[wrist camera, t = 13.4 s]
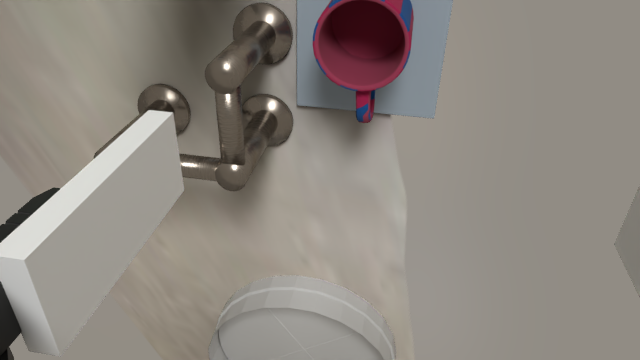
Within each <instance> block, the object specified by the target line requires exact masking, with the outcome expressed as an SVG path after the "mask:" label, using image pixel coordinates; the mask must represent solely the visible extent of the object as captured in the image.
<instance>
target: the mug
mask: <svg viewBox="0 0 640 360" xmlns="http://www.w3.org/2000/svg"><path fill="white" fill-rule="evenodd" d="M413 21H414V15H413V8H412V4H411V1H410V0H331V1H330V2H329V4H328V5H327V7H326V8H325V10H324V11H323V12H322V14H321V16H320V17H319V19H318V21H317V23H316V26H315V28H314V33H313V51H314V55H315V58H316V61H317V63H318V65H319V67H320V69H321V70H322V71H323V73H324V74H325V75H326V76H327V77H328V78H329V79H330V80H331V81H332V82H334V83H335V84H337V85H338V86H341V87H343V88H345V89H349V90H352V91H356V117H357V120H358V121H359V122H362V123H368V122H370V121H371V120H372V117H373V112H374V105H375V90H377V89H379V88H382V87H384V86H386V85H388V84H389V83H391V82H392V81H393V80H395V79H396V78H397V77H398V76H399V75H400V73H401V72H402V71H403V69H404V68H405V66H406V64H407V62H408V59H409V56H410V51H411V42H412V32H413Z"/></svg>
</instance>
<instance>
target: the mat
mask: <svg viewBox="0 0 640 360" xmlns="http://www.w3.org/2000/svg"><path fill="white" fill-rule="evenodd" d="M330 1H331V0H297V105H301V106H311V107H321V108H332V109H342V110H352V111H356V91H352V90H349V89H345V88H343V87H341V86H338V85H337V84H335V83H334V82H332V81H331V80H330V79H329V78H328V77H327V76H326V75H325V74H324V73H323V71H322V70H321V69H320V67H319V65H318V63H317V61H316V58H315V55H314V51H313V33H314V28H315V26H316V23H317V21H318V19H319V17H320V16H321V14H322V12H323V11H324V10H325V8H326V7H327V5H328V4H329V2H330ZM410 1H411V4H412V8H413V15H414V21H413V32H412V42H411V51H410V56H409V59H408V62H407V64H406V66H405V68H404V69H403V71H402V72H401V73H400V75H399V76H398V77H397V78H396V79H395V80H393V81H392V82H391V83H389V84H388V85H386V86H384V87H382V88H379V89H377V90H375V105H374V112H373V113H383V114H393V115H403V116H404V115H405V116H413V117H424V118H434V115H435V109H436V103H437V97H438V90H439V84H440V78H441V71H442V65H443V59H444V53H445V46H446V40H447V34H448V27H449V21H450V15H451V9H452V3H453V0H410Z"/></svg>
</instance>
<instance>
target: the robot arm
mask: <svg viewBox="0 0 640 360" xmlns="http://www.w3.org/2000/svg"><path fill="white" fill-rule="evenodd" d="M183 191H184V184H183V177H182V170H181V163H180V156H179V149H178V143H177V136H176V129H175V122H174V115H173V112H164V111H154V110H148V111H147V112H146V113H145V114H144V115H143V116H142V117H140V118H139V119H138V120H137V121H136V122H135V123H134V124H133V125H132V126H130V127H129V128H128V129H127V130H126V131H125V132H124V133H123V134H121V135H120V136H119V137H118V138H117V139H116V140H115V141H114V142H113V143H111V144H110V145H109V146H108V147H107V148H106V149H105V150H104V151H102V152H101V153H100V154H99V155H98V156H97V157H96V158H95V159H94V160H92V161H91V162H90V163H89V164H88V165H87V166H86V167H85V168H83V169H82V170H81V171H80V172H79V173H78V174H77V175H76V176H75V177H73V178H72V179H71V180H70V181H69V182H68V183H67V184H66V185H64V186H63V187H62V188H52V189H50V190H48V191H46V192H44V193H42V194H40V195H38V196H36V197H34V198H32V199H31V200H30V201H29V202H28V203H26V204H25V205H24V206H23V207H22V208H21V209H19V210H18V213H15V214H14V215H12V217H10V218H9V219H8V220H7V221H6V224H2V225H1V226H0V360H14V357H13V355H12V352H11V350H10V348H9V346H10V345H11V344H12V342H13V341H14V340H15V339H16V338H17V336H18V335H19V334H20V333H21V334H22V336H23V338H24V341H25V343H26V345H27V348H28V350H29V351H32V352H37V353H43V354H49V355H54V356H60V357H61V356H62V355H63V353H64V352H65V351H66V349H67V348H68V347H69V345H70V344H71V343H72V341H73V340H74V339H75V337H76V336H77V334H78V333H79V332H80V330H81V329H82V327H83V326H84V325H85V324H86V322H87V321H88V320H89V318H90V317H91V315H92V314H93V313H94V311H95V310H96V309H97V307H98V306H99V305H100V303H101V302H102V301H103V299H104V298H105V297H106V295H107V294H108V293H109V291H110V290H111V289H112V287H113V286H114V284H115V283H116V282H117V280H118V279H119V278H120V276H121V275H122V274H123V272H124V271H125V270H126V268H127V267H128V266H129V264H130V263H131V262H132V260H133V259H134V257H135V256H136V255H137V253H138V252H139V251H140V249H141V248H142V247H143V245H144V244H145V243H146V241H147V240H148V239H149V237H150V236H151V234H152V233H153V232H154V230H155V229H156V228H157V226H158V225H159V224H160V222H161V221H162V220H163V218H164V217H165V216H166V214H167V213H168V211H169V210H170V209H171V207H172V206H173V205H174V203H175V202H176V201H177V199H178V198H179V197H180V195H181V194H182V193H183ZM614 245H615V247H616V249H617V251H618V253H619V255H620V258H621V260H622V262H623V264H624V266H625V268H626V270H627V272H628V274H629V276H630V278H631V280H632V282H633V285H634V287H635V289H636V291H637V293H638V295H639V297H640V186H639V188H638V190H637V193H636V195H635V197H634V199H633V202H632V204H631V206H630V209H629V211H628V213H627V216H626V218H625V220H624V223H623V225H622V227H621V230H620V232H619V234H618V236H617V239H616V241H615V243H614Z"/></svg>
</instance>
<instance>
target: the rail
mask: <svg viewBox="0 0 640 360" xmlns="http://www.w3.org/2000/svg"><path fill="white" fill-rule="evenodd" d="M233 36H234V41H233V42H232V43H231V44H230V45H229V46H228V47H227V48H226V49H225V50H223V51H222V52H221V53H220V54H219V55H218V56H217V57H216V58H215V59H214V60H213V61H212V62H211V63H209V64H208V66H207V67H206V70H205V78H206V81H207V83H208V85H209V86H210V87H211V88H212V89H213V90H214V91H215V98H216V109H217V120H218V130H219V141H220V152H221V158H213V157H204V156H196V155H187V154H179V156H180V163H181V170H182V177H186V178H194V179H202V180H210V181H217V182H218V183H219V185H220V186H222V187H223V188H224V189H226V190H229V191H238V190H240V189H242V188H243V187H244V185H245V184H246V182H247V180H248V178H249V176H250V175H251V173H252V171H253V169H254V168H255V166H256V164H257V162H258V161H259V159H260V157H261V155H262V154H263V152H264V150H265V148H266V146H275V145H278V144H280V143H282V142H284V141H285V140H286V139H287V138H288V136H289V134H290V133H291V130H292V127H293V117H292V113H291V111H290V109H289V108H288V106H287V105H286V104H285V103H284V102H283V101H282V100H280V99H279V98H277V97H275V96H272V95H268V94H258V95H255V96H252V97H251V98H249V99H248V100H247V101H246V102H245V103H244V105H243V106H242V101H241V85H240V84H241V83H242V81H243V80H244V79H245V78H246V77H247V76H248V74H249V73H250V72H251V71H252V70H253V68H254V67H255V66H256V65H257V64H258V63H259V64H272V63H275V62H277V61H279V60H281V59H282V58H283V57H284V56H285V55H286V53H287V52H288V51H289V49H290V47H291V44H292V40H293V32H292V27H291V24H290V22H289V20H288V18H287V17H286V15H285V14H284V13H283V12H282V11H281V10H280V9H278V8H277V7H275V6H273V5H271V4H268V3H254V4H251V5H249V6H247V7H246V8H244V9H243V10H242V11H241V12H240V13H239V14H238V16H237V17H236V19H235V22H234V26H233ZM148 110H154V111H164V112H173V115H174V122H175V129H176V134H177V133H179V132H181V131H182V130H183V129H184V128H185V127H186V126H187V125H188V123H189V121H190V115H191V114H190V108H189V105H188V102H187V101H186V99H185V98H184V96H183V95H182V94H181V93H180V92H179V91H177V90H176V89H174V88H173V87H171V86H168V85H164V84H155V85H152V86H149V87H148V88H147V89H145V90H144V91H143V92H142V93H141V94H140V96H139V99H138V111H139V115H138V116H137V117H136V118H135V119H133V120H132V121H131V122H130V123H129V124H128V125H127V126H125V127H124V128H123V129H122V130H121V131H120V132H119V133H118V134H116V135H115V136H114V137H113V138H112V139H111V140H110V141H108V142H107V143H106V144H105V145H104V146H103V147H102V148H100V149H99V150H98V151H97V152H96V153H95V155H94V159H95V158H96V157H97V156H98V155H99V154H100V153H101V152H102V151H104V150H105V149H106V148H107V147H108V146H109V145H110V144H111V143H113V142H114V141H115V140H116V139H117V138H118V137H119V136H120V135H121V134H123V133H124V132H125V131H126V130H127V129H128V128H129V127H130V126H132V125H133V124H134V123H135V122H136V121H137V120H138V119H139V118H140V117H142V116H143V115H144V114H145V113H146V112H147V111H148Z"/></svg>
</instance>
